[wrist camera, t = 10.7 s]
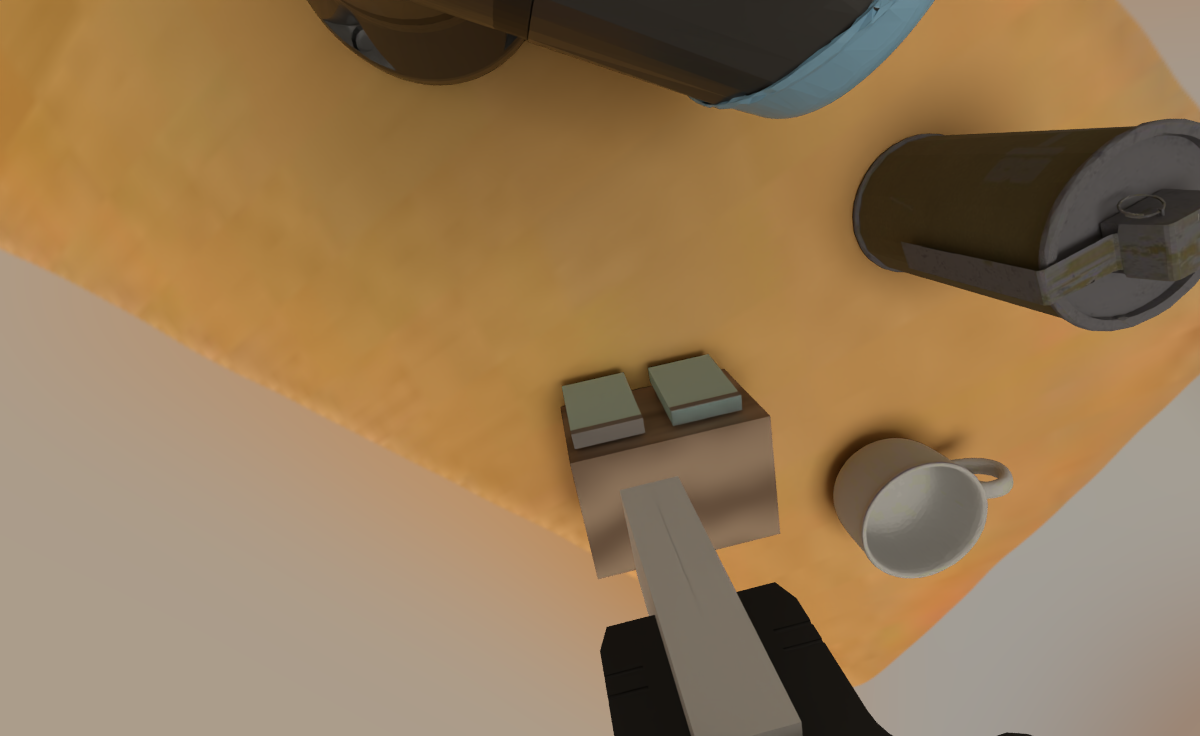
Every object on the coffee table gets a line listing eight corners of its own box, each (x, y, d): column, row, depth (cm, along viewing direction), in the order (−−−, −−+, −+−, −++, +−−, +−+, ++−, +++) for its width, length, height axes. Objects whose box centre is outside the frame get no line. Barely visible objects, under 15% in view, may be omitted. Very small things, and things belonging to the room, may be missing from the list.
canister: (958, 106, 42) (1308, 65, 23) (989, 231, 46) (1310, 280, 27) (829, 180, 43) (1070, 197, 24) (869, 297, 46) (1104, 389, 28)
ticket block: (560, 406, 46) (570, 463, 37) (724, 369, 47) (770, 416, 38) (584, 506, 50) (598, 579, 41) (735, 470, 50) (780, 533, 42)
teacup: (819, 534, 54) (867, 593, 47) (814, 437, 50) (864, 485, 43) (954, 499, 55) (1021, 552, 48) (958, 401, 51) (1033, 442, 44)
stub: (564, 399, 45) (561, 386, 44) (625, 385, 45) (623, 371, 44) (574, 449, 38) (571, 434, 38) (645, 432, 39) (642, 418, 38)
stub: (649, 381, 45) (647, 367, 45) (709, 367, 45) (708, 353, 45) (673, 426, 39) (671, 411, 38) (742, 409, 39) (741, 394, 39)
